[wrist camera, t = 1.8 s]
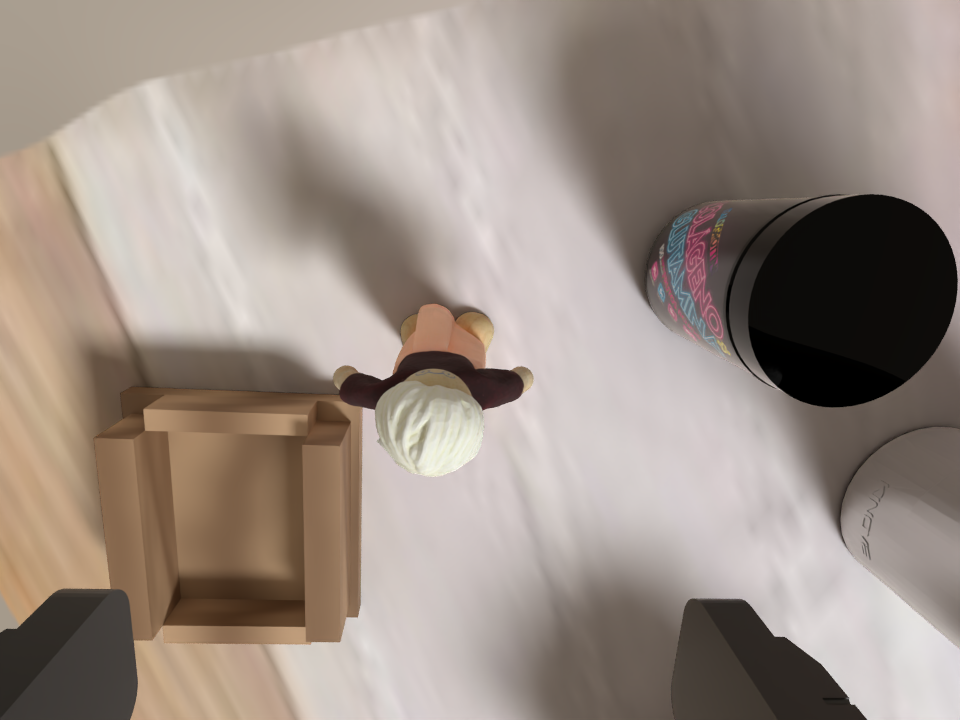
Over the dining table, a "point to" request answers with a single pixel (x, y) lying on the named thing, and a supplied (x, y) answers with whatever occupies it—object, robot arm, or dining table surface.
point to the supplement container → (808, 290)
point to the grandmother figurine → (435, 391)
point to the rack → (234, 514)
